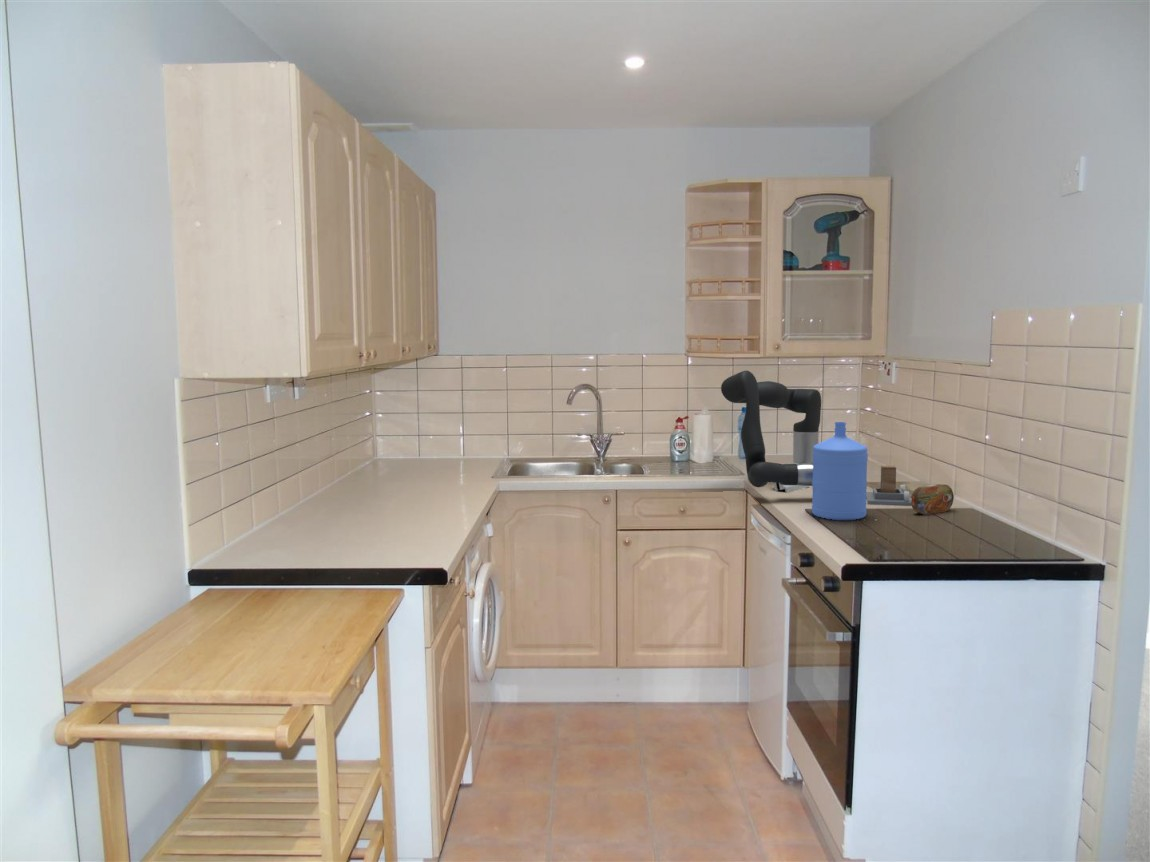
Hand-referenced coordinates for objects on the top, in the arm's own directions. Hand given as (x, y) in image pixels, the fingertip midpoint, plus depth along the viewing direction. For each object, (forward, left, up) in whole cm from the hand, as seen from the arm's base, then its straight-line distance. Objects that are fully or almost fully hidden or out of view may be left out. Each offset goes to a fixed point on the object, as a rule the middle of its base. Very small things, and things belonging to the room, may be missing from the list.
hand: (861, 474), depth 261 cm
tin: (+15, +19, -9) cm, 26 cm away
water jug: (+24, -8, -9) cm, 26 cm away
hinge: (-17, -22, -9) cm, 29 cm away
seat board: (-1, +8, -8) cm, 12 cm away
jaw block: (-1, +8, -7) cm, 11 cm away
